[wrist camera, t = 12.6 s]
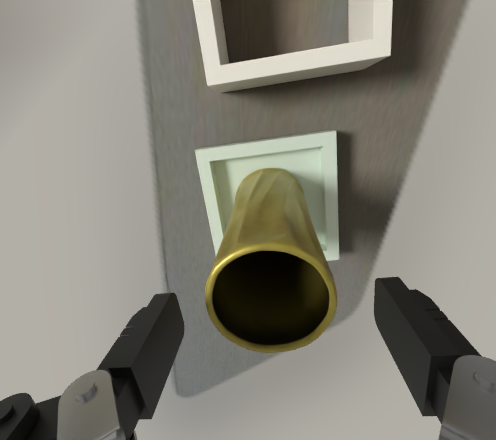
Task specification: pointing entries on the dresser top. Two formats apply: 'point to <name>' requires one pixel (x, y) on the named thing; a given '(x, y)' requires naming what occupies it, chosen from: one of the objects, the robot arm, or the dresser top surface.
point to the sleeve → (298, 63)
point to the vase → (270, 269)
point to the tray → (282, 157)
